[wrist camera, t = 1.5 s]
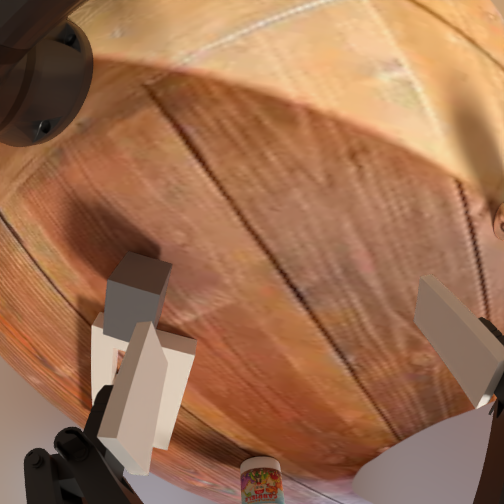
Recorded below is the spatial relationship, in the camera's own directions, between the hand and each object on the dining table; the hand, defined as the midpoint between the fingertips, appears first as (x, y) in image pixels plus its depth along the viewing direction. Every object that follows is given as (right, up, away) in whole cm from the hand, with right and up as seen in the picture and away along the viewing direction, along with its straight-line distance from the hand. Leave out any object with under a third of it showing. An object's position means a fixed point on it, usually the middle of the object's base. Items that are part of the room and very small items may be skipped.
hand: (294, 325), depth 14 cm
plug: (-14, 0, +20) cm, 25 cm away
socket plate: (-19, -17, +27) cm, 37 cm away
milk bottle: (0, -38, +38) cm, 54 cm away
